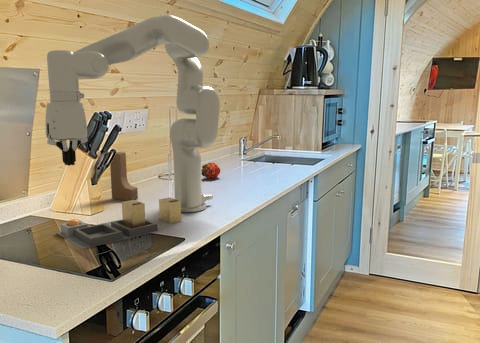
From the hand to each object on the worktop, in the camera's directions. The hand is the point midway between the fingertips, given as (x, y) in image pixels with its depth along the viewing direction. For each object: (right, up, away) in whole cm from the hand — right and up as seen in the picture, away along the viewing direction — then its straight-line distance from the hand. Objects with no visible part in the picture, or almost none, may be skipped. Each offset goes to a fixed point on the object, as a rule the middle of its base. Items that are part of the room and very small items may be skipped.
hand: (69, 164), depth 127 cm
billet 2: (+26, -19, +15) cm, 35 cm away
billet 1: (+17, -19, +6) cm, 26 cm away
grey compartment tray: (+10, -21, +4) cm, 23 cm away
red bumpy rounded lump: (+34, -6, +90) cm, 96 cm away
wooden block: (+3, -13, +50) cm, 51 cm away
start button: (0, -18, +3) cm, 19 cm away
